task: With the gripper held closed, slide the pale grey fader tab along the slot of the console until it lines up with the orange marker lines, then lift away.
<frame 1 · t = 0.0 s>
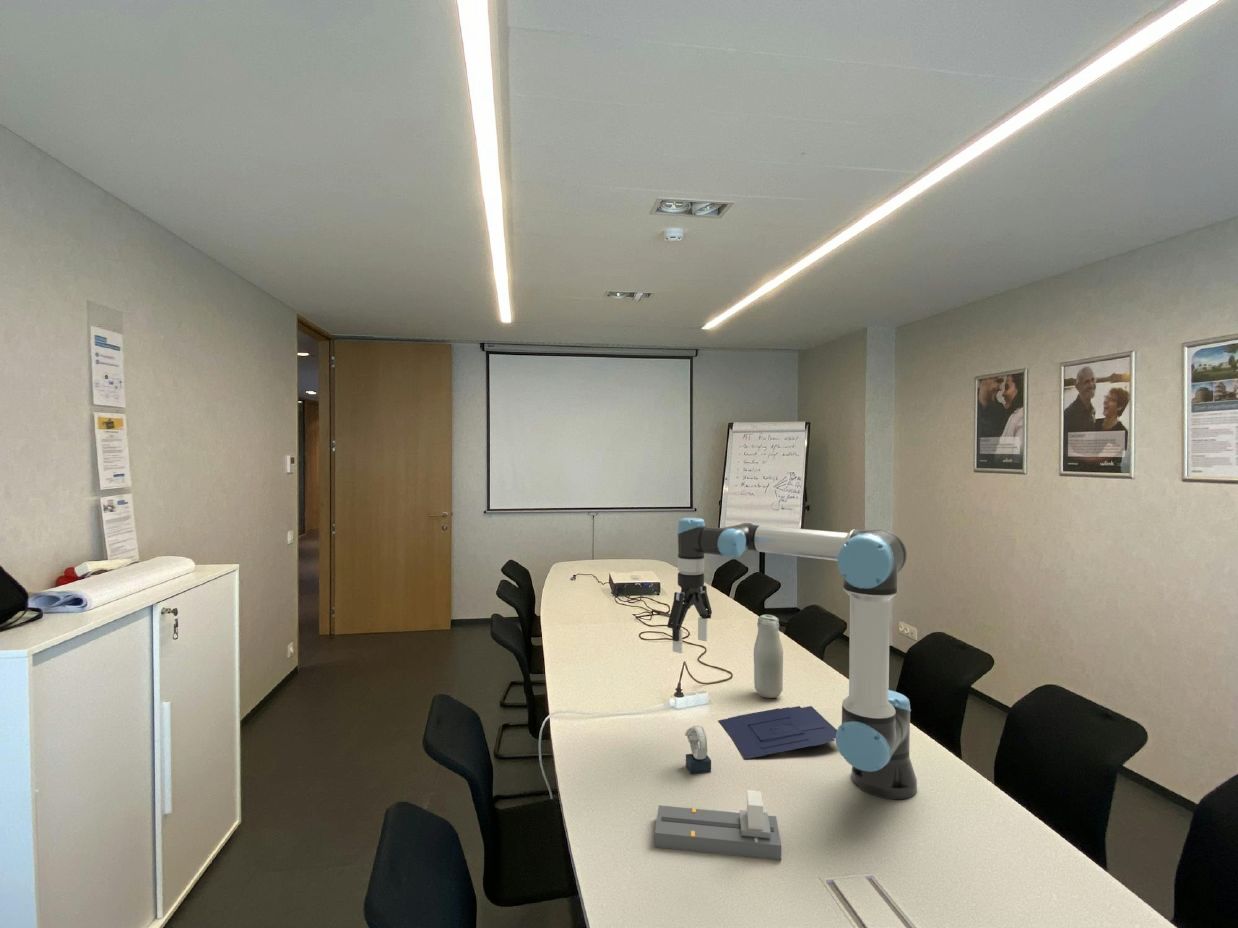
hand: (690, 646, 171), 28 cm above the table, fingers open, 13 cm apart
fader tab: (754, 812, 128), point 6 cm above the table, slide at 0.0 cm
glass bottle: (767, 696, 205), on the table
watch: (697, 769, 157), on the table
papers: (779, 737, 176), on the table
console: (716, 837, 129), on the table
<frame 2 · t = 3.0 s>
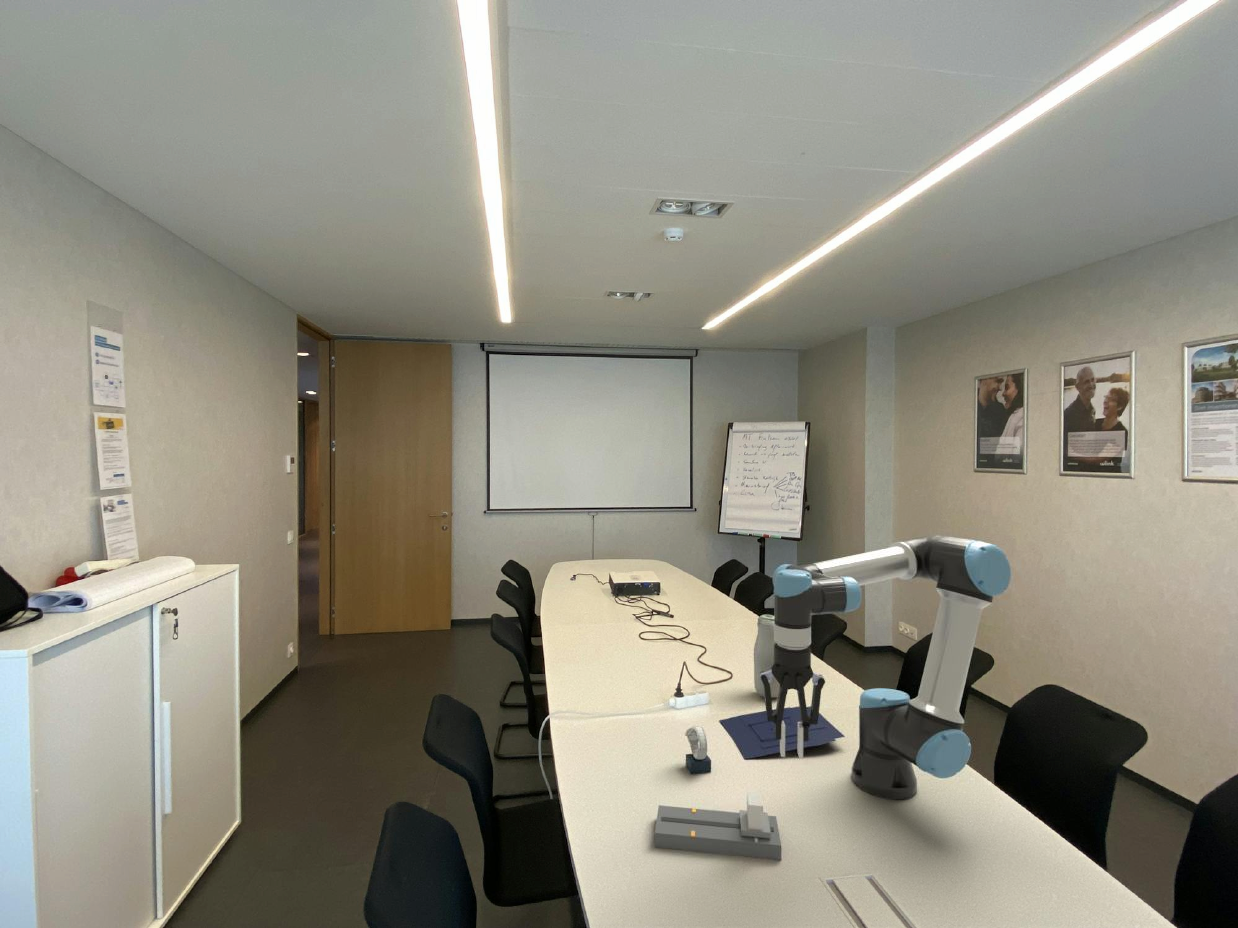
hand: (791, 754, 126), 20 cm above the table, fingers open, 3 cm apart
nothing on the table moved.
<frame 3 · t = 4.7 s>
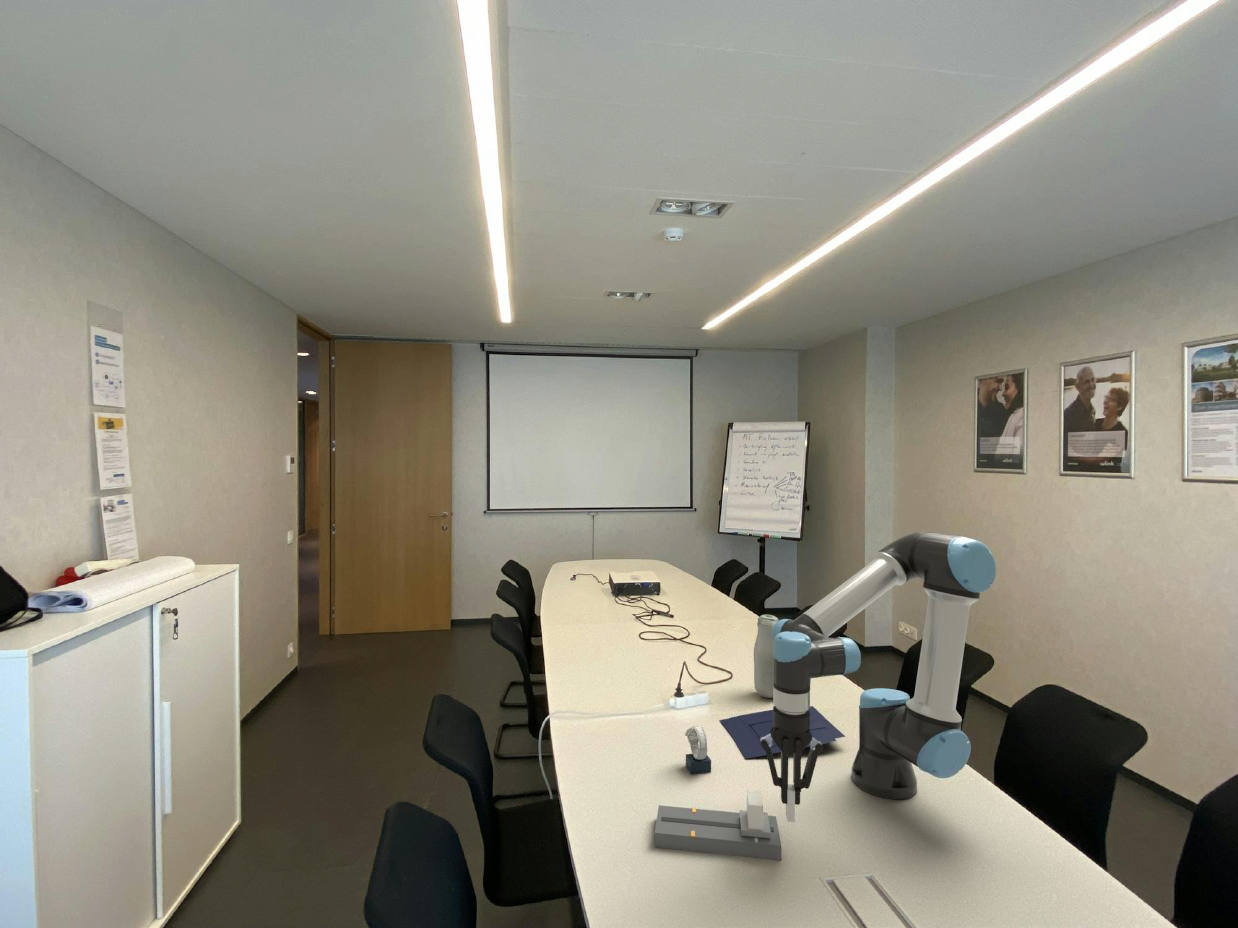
hand: (790, 817, 127), 6 cm above the table, fingers closed
nothing on the table moved.
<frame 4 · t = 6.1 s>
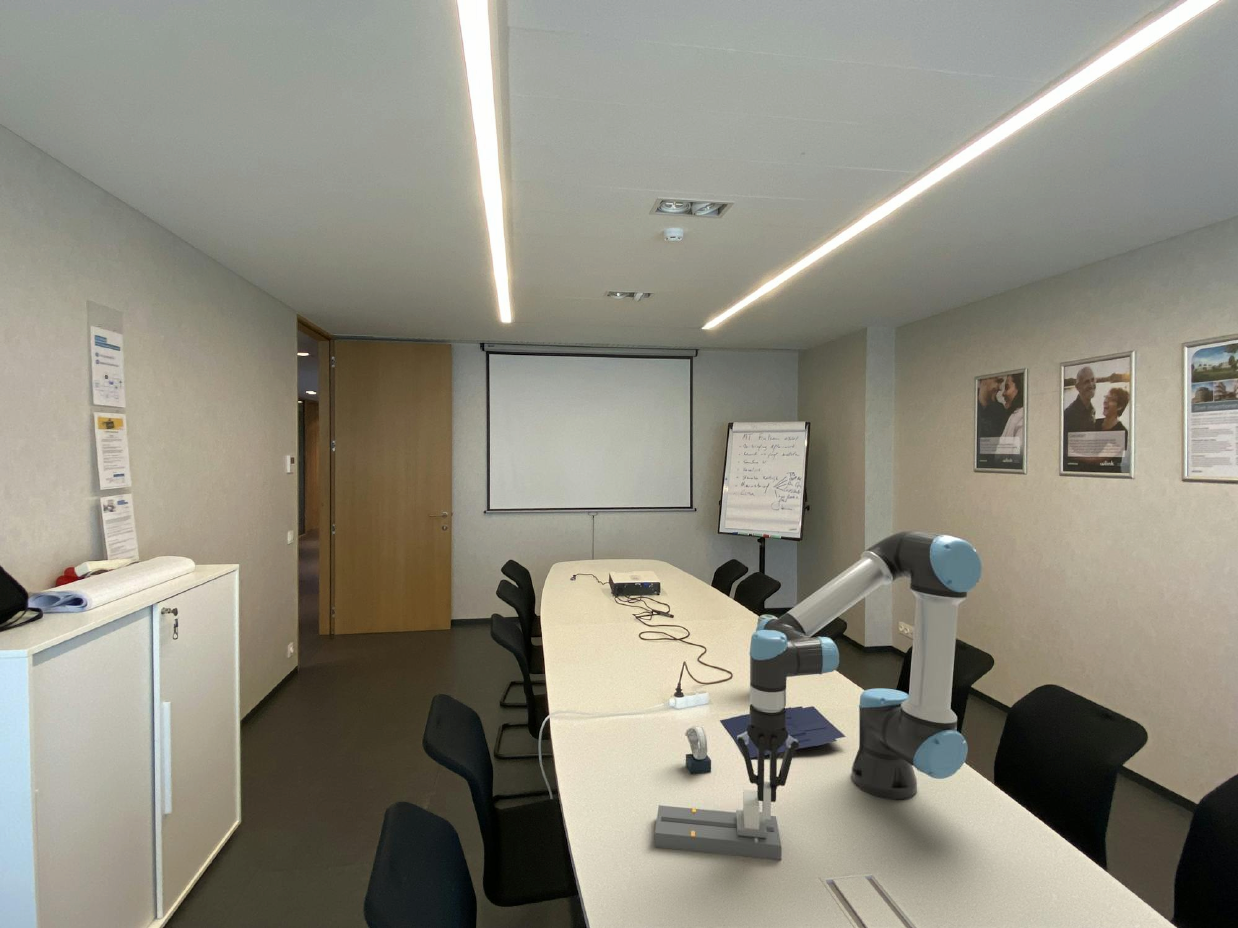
hand: (766, 815, 127), 6 cm above the table, fingers closed
fader tab: (751, 811, 128), point 6 cm above the table, slide at 0.8 cm, touching gripper
everything else where it was.
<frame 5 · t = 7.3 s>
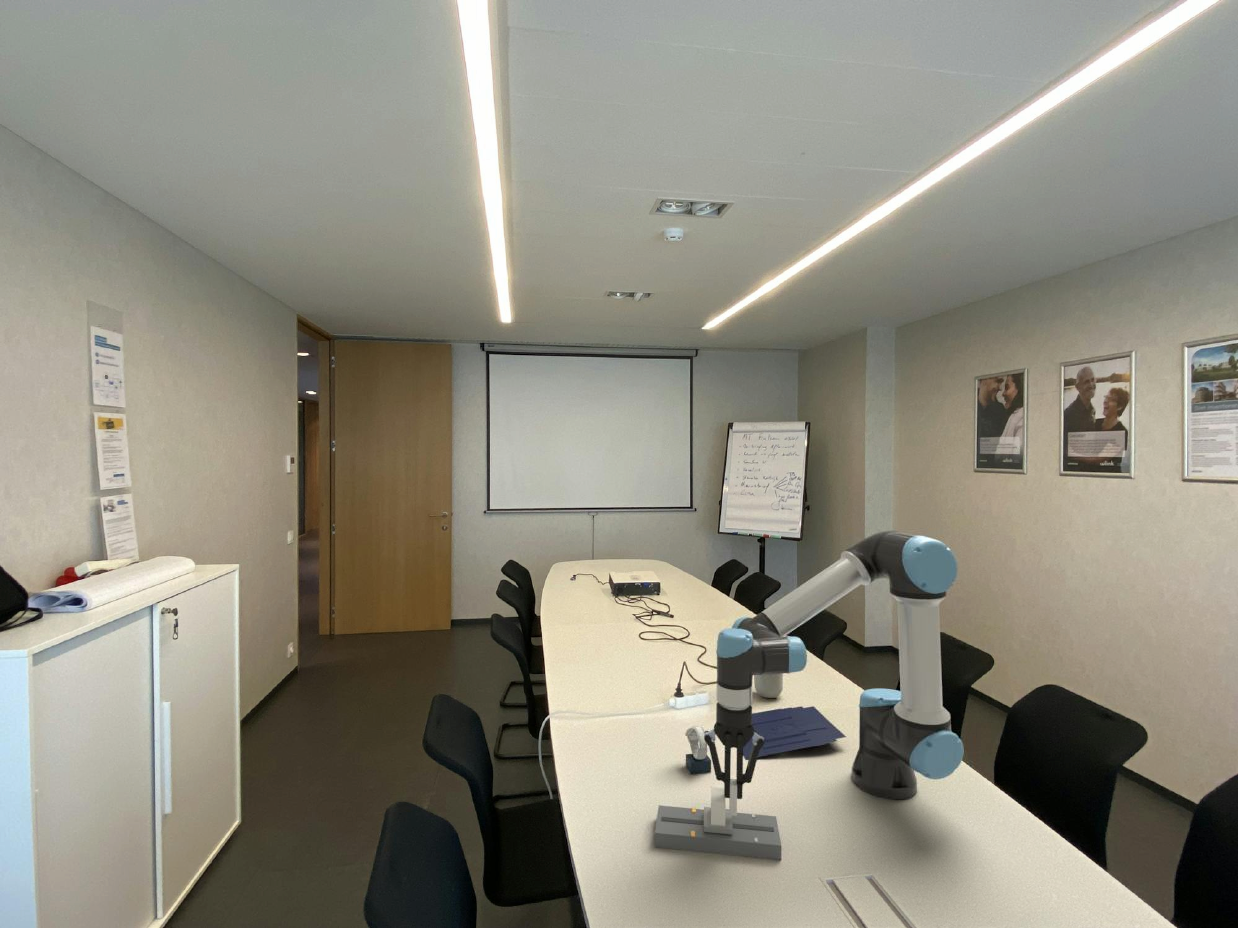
hand: (733, 811, 128), 6 cm above the table, fingers closed
fader tab: (717, 808, 129), point 6 cm above the table, slide at 7.8 cm, touching gripper
everything else where it was.
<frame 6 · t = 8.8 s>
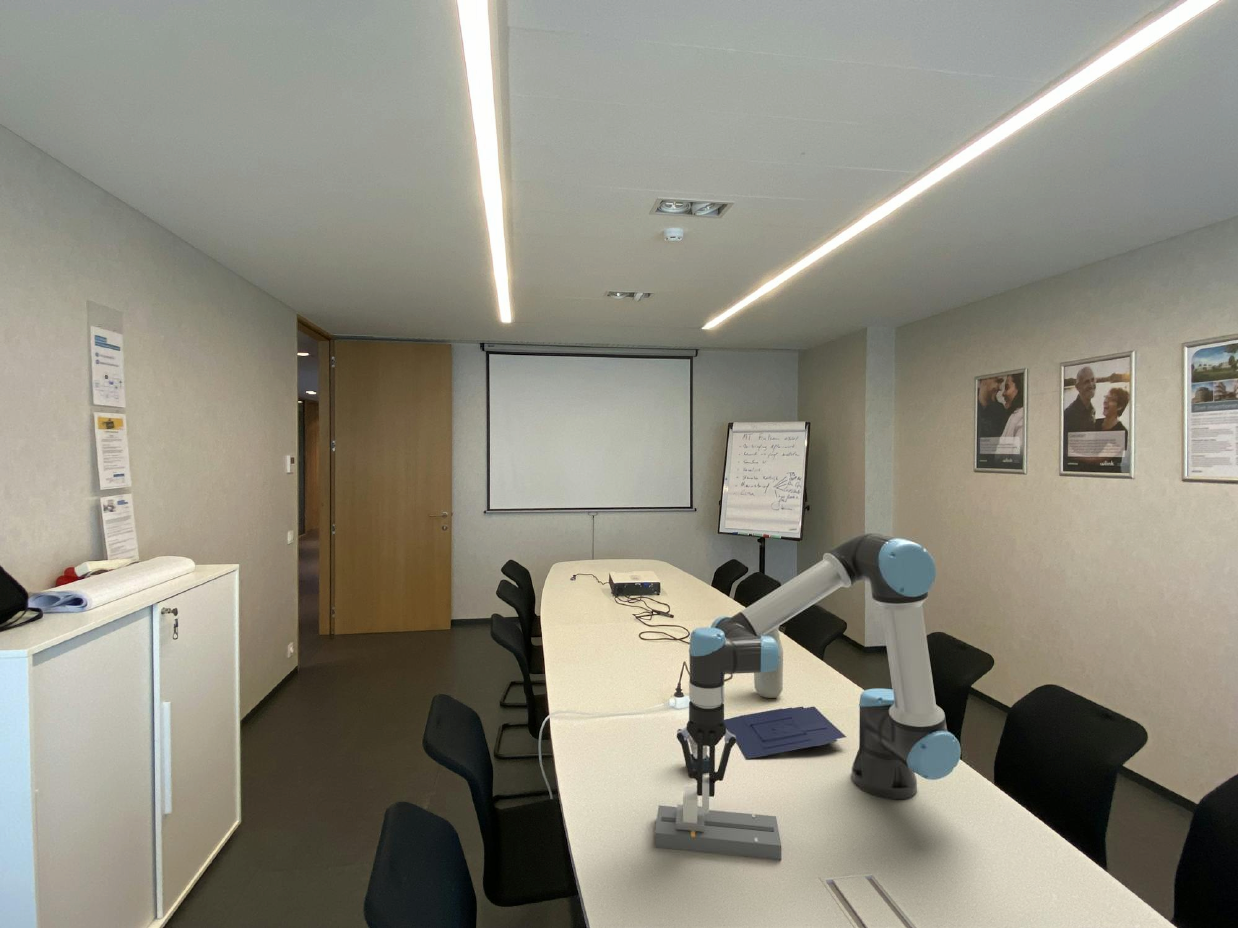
hand: (705, 809, 129), 6 cm above the table, fingers closed
fader tab: (690, 806, 130), point 6 cm above the table, slide at 13.7 cm, touching gripper
everything else where it was.
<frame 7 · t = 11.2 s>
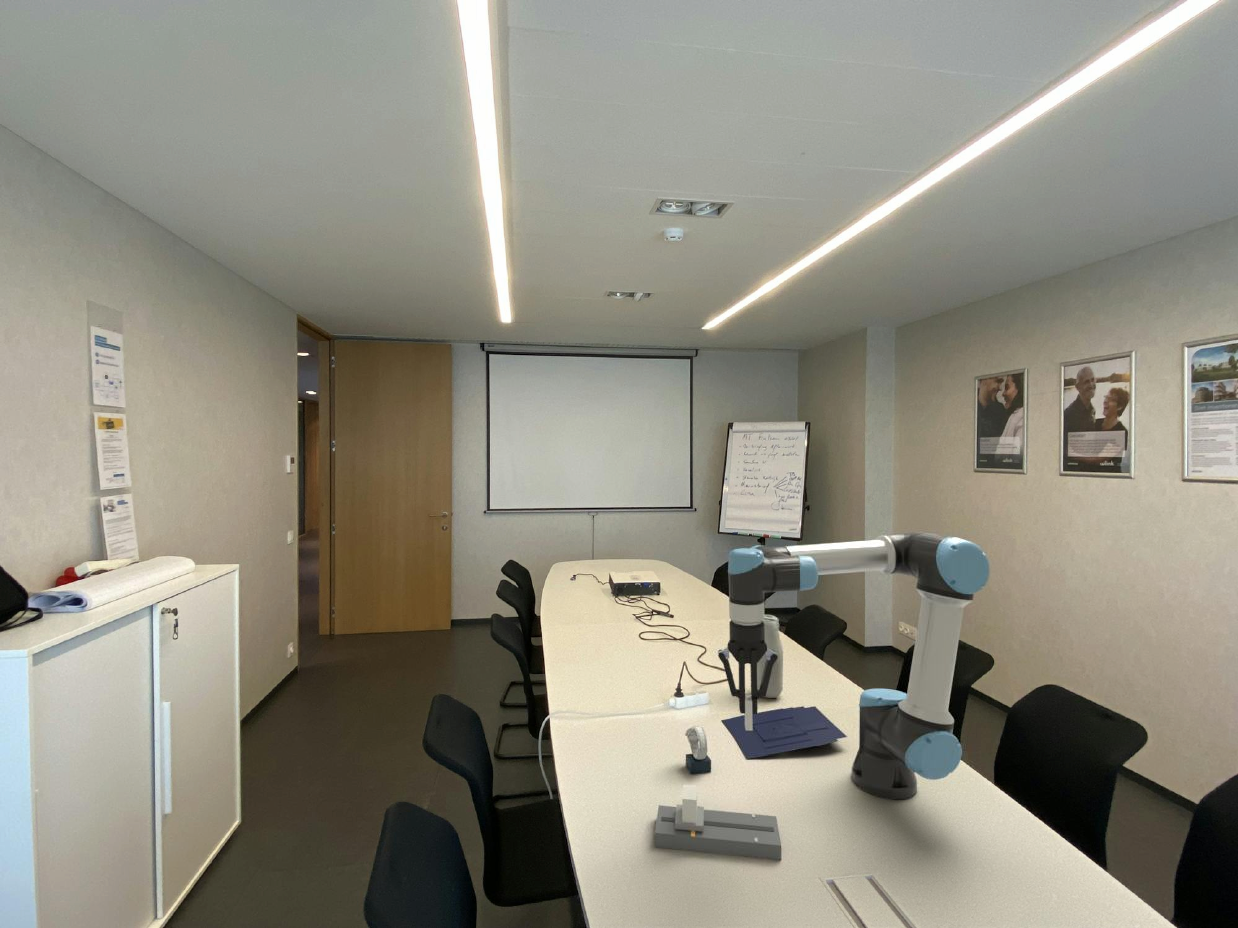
hand: (748, 727, 131), 23 cm above the table, fingers closed
fader tab: (689, 806, 130), point 6 cm above the table, slide at 13.8 cm
everything else where it was.
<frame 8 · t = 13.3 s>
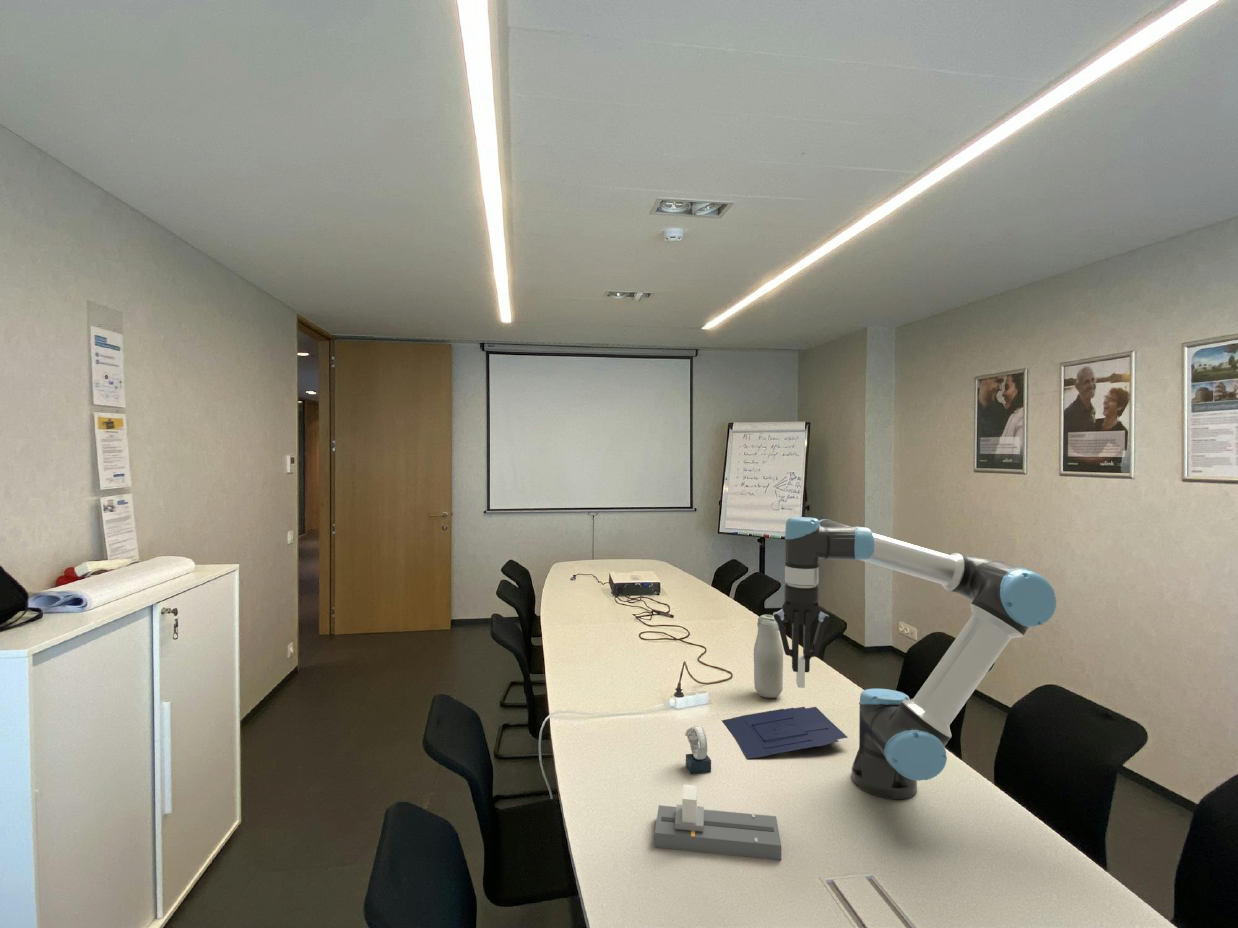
hand: (800, 685, 139), 29 cm above the table, fingers closed
at the end: fader tab slide at 13.8 cm; watch moved 0.2 cm from its start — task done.
